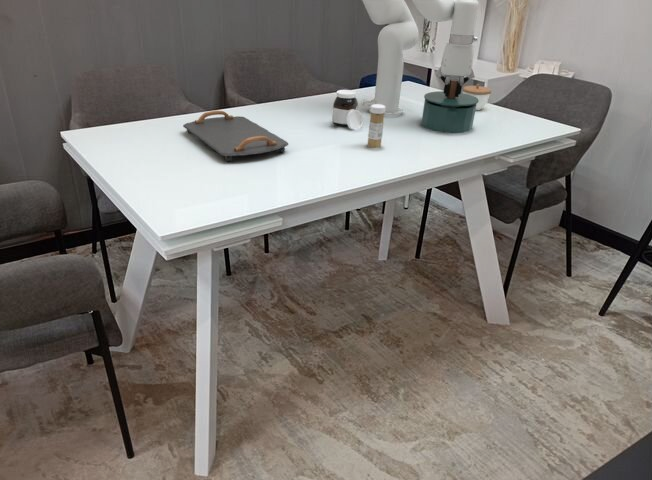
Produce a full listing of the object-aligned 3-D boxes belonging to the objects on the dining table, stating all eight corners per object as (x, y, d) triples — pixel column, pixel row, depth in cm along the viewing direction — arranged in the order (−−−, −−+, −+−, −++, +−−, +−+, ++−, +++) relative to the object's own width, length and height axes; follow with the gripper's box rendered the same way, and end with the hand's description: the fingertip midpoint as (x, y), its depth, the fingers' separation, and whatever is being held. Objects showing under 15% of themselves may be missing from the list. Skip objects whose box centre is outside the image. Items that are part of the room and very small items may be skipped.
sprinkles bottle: (375, 144, 179) (380, 103, 172) (383, 149, 176) (388, 106, 169) (364, 146, 178) (368, 104, 171) (371, 150, 174) (376, 108, 167)
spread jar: (339, 120, 202) (341, 87, 196) (368, 124, 198) (371, 91, 192) (326, 128, 193) (328, 94, 187) (357, 133, 189) (360, 99, 183)
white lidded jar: (454, 105, 224) (459, 81, 219) (478, 104, 227) (482, 81, 222) (468, 112, 215) (472, 88, 211) (492, 111, 218) (497, 87, 213)
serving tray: (179, 130, 187) (177, 112, 184) (240, 121, 197) (239, 104, 194) (226, 167, 159) (226, 146, 155) (295, 154, 169) (295, 135, 166)
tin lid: (425, 105, 187) (428, 84, 183) (422, 93, 202) (425, 73, 199) (481, 109, 184) (485, 87, 181) (474, 96, 200) (478, 76, 196)
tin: (422, 134, 190) (426, 108, 185) (420, 116, 209) (423, 92, 204) (474, 138, 187) (480, 112, 183) (467, 119, 207) (472, 95, 202)
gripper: (484, 39, 185) (474, 95, 195) (435, 37, 187) (427, 92, 197) (487, 43, 179) (476, 100, 188) (436, 40, 181) (428, 97, 190)
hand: (451, 95), depth 192 cm, fingers closed on tin lid, 3 cm apart
